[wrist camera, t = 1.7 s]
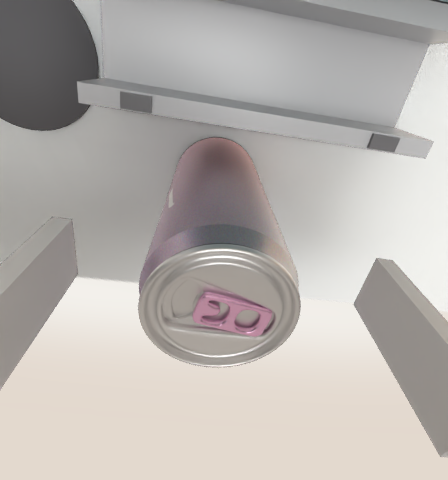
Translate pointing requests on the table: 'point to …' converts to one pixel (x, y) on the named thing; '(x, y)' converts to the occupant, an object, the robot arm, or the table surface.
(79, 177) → the table surface
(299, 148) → the table surface
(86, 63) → the coaster
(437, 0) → the cover
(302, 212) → the table surface
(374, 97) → the grey rectangular tray
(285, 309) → the beverage can
